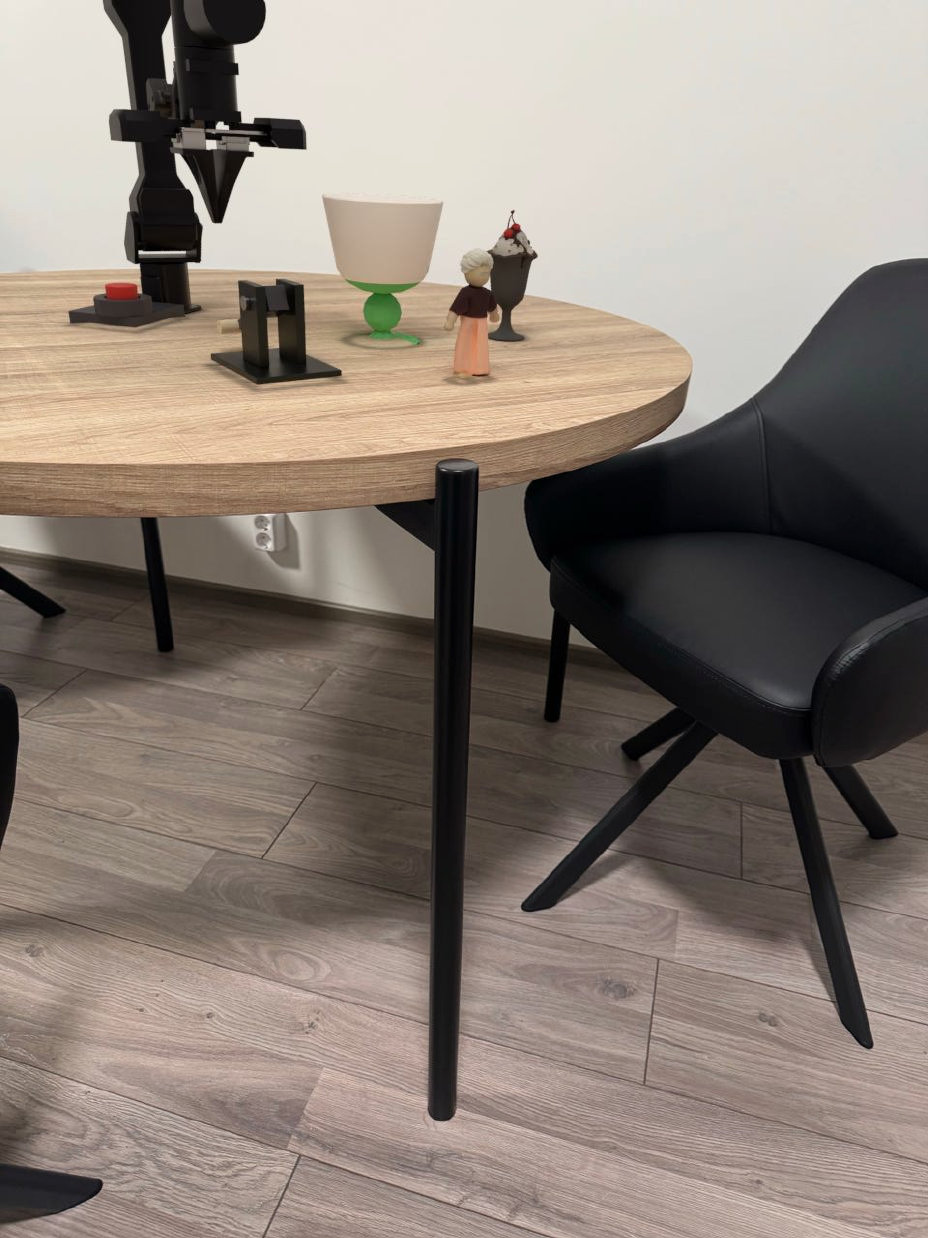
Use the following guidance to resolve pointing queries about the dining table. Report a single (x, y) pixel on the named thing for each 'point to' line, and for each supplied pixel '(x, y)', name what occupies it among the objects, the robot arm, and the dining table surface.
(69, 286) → the dining table surface
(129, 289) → the power button
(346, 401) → the dining table surface
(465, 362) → the grandmother figurine
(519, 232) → the sundae
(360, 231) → the cup
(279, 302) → the lever
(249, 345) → the switch bracket
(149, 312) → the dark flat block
